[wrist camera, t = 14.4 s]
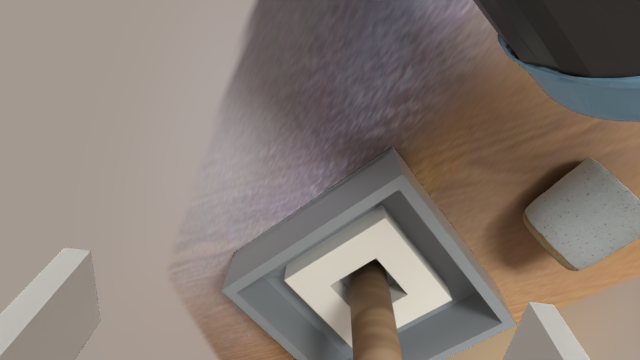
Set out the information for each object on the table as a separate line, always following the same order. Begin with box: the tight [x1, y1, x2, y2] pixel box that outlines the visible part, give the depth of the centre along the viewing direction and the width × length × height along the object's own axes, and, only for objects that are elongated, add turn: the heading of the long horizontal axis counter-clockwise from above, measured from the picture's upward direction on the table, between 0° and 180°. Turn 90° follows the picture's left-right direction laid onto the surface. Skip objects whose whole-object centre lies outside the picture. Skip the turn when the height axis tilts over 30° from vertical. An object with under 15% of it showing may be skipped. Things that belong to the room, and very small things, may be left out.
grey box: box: [221, 146, 517, 360], centre depth 43 cm, size 20×20×6 cm
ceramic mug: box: [523, 157, 640, 271], centre depth 38 cm, size 11×8×8 cm
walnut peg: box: [348, 259, 403, 360], centre depth 38 cm, size 4×4×14 cm
